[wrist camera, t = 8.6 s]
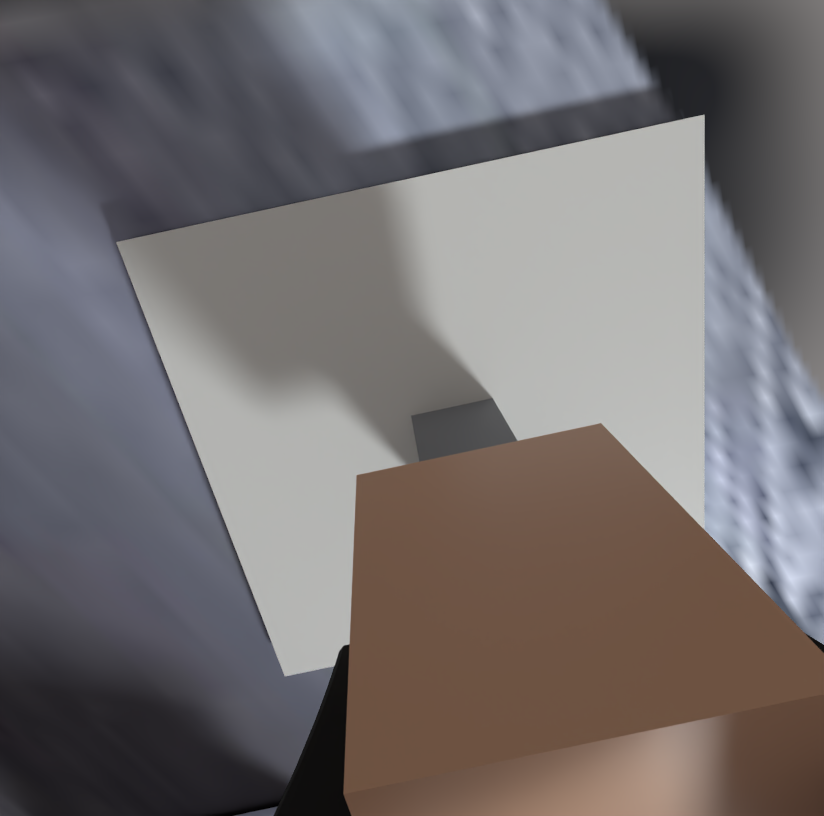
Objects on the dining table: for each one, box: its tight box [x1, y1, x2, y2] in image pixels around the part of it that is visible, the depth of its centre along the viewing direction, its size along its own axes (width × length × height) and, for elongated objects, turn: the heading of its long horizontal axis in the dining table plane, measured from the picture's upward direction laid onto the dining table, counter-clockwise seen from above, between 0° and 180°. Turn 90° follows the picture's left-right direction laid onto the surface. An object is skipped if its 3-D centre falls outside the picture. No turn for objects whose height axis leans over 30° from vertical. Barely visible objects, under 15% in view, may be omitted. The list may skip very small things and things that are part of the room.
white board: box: [116, 115, 704, 676], centre depth 16 cm, size 16×16×6 cm
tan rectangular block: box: [343, 423, 824, 816], centre depth 10 cm, size 5×5×7 cm
